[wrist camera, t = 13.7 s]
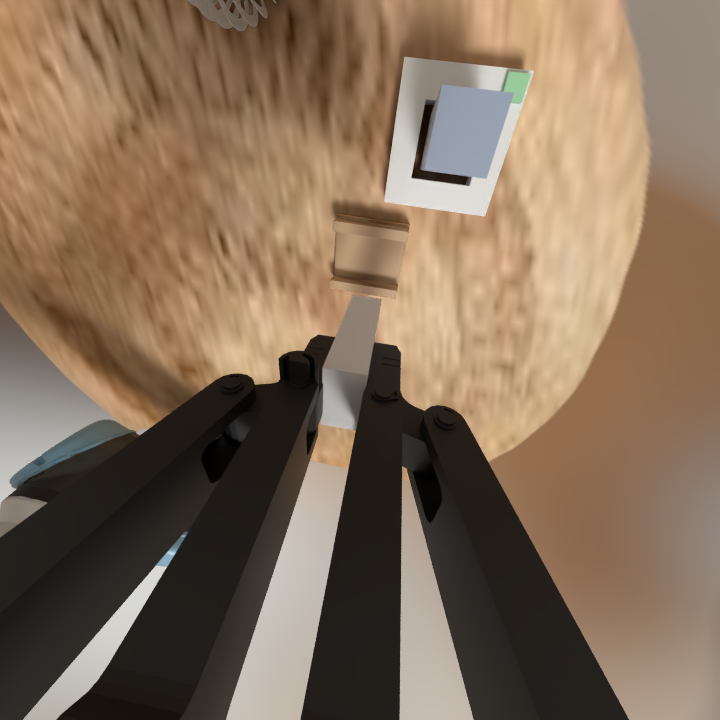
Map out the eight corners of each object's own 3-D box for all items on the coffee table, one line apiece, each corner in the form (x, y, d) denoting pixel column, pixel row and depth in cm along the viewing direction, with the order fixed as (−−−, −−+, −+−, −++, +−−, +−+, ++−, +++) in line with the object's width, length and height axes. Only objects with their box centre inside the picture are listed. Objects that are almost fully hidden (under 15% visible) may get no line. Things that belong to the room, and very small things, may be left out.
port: (385, 199, 29) (383, 202, 27) (405, 66, 23) (404, 54, 21) (479, 212, 29) (486, 217, 26) (523, 79, 23) (537, 68, 20)
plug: (419, 169, 27) (424, 170, 18) (430, 116, 25) (442, 84, 15) (459, 174, 27) (486, 178, 17) (474, 122, 25) (514, 92, 15)
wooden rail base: (335, 282, 35) (330, 290, 33) (339, 213, 31) (333, 217, 28) (396, 292, 35) (395, 301, 33) (409, 223, 30) (409, 228, 28)
